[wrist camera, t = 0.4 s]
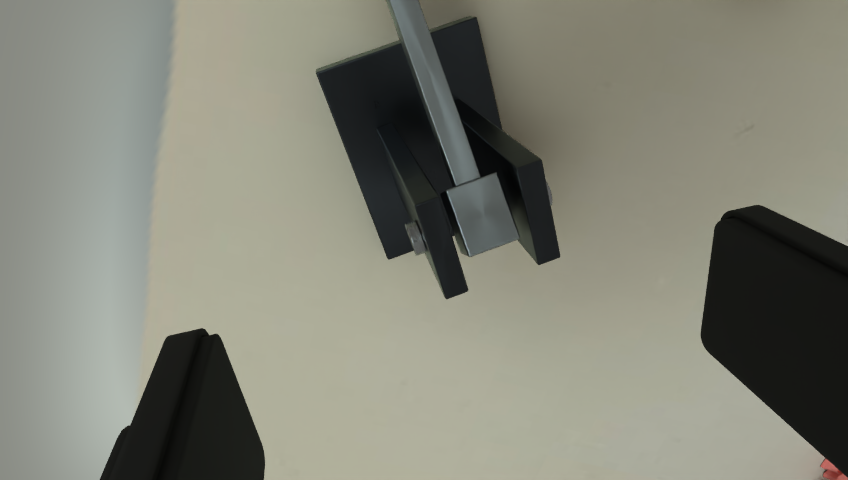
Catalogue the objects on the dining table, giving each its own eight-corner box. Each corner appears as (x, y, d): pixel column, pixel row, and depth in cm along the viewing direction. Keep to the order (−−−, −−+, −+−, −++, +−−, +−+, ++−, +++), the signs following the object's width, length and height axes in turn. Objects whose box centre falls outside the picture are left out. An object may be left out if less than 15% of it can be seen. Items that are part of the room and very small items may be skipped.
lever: (319, -24, 22) (310, -54, 20) (441, -66, 22) (447, -100, 20) (425, 267, 23) (429, 272, 20) (542, 223, 23) (560, 224, 21)
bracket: (315, 69, 28) (322, 125, 17) (470, 15, 29) (577, 35, 17) (385, 251, 34) (425, 384, 23) (514, 204, 34) (616, 312, 23)
